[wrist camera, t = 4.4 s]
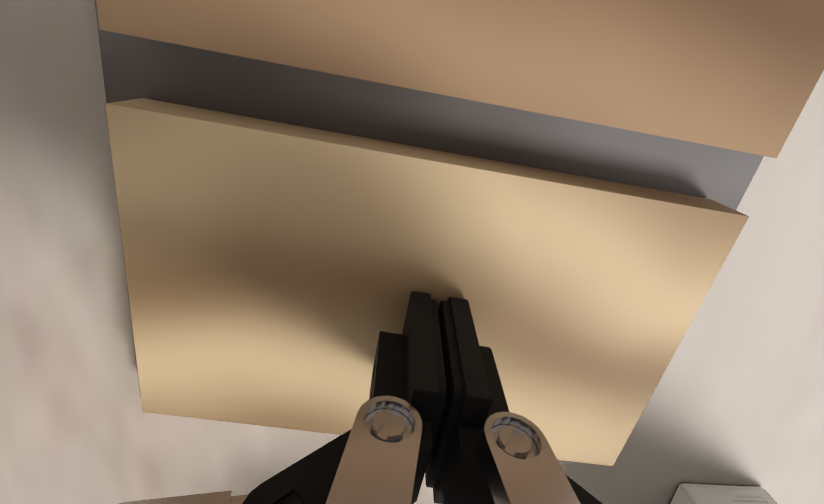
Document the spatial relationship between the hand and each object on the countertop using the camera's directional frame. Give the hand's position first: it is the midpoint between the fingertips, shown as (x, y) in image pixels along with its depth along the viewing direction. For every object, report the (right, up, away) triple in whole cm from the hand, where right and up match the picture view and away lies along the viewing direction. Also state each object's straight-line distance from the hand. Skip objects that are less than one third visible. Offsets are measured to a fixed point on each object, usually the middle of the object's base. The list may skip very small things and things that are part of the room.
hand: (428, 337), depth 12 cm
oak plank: (0, +1, +1) cm, 2 cm away
